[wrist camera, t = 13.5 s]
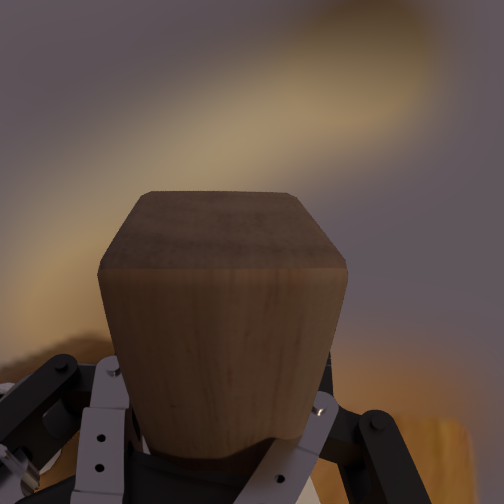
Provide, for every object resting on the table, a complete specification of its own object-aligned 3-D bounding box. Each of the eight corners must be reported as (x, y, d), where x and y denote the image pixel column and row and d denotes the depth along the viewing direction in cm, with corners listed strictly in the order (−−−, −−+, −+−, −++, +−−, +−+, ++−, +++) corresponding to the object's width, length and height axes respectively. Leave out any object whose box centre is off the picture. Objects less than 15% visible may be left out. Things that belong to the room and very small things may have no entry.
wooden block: (185, 423, 21) (162, 158, 13) (247, 421, 21) (270, 160, 13) (187, 536, 13) (85, 265, 5) (265, 533, 13) (360, 264, 5)
